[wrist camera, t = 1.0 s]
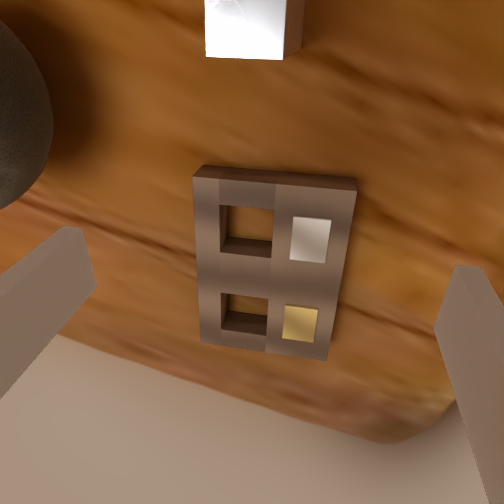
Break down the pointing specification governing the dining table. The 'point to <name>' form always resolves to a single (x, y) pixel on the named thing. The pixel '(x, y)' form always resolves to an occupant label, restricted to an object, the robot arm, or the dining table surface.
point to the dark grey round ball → (21, 118)
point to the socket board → (272, 258)
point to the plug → (254, 28)
